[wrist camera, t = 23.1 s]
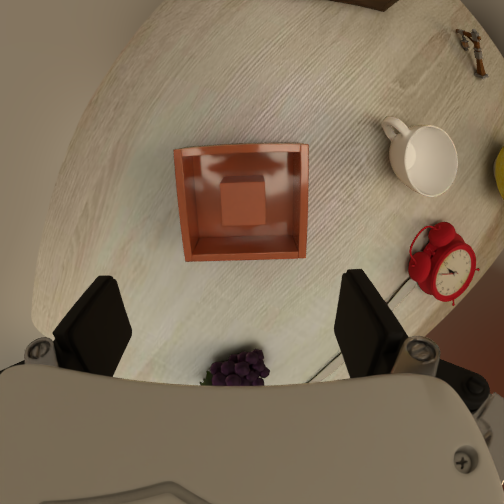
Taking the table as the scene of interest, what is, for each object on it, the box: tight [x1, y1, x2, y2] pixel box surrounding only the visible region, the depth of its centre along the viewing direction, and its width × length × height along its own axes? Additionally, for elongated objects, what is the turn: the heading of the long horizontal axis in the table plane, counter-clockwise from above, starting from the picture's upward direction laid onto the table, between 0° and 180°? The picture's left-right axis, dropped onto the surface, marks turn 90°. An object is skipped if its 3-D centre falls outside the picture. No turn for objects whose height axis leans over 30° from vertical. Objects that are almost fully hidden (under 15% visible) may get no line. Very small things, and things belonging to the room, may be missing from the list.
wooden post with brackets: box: [456, 29, 488, 79], centre depth 20 cm, size 2×8×4 cm, turn 34°
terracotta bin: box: [174, 142, 309, 262], centre depth 29 cm, size 13×12×6 cm
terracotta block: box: [219, 175, 266, 226], centre depth 29 cm, size 4×4×4 cm
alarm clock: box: [408, 222, 480, 306], centre depth 32 cm, size 10×6×15 cm
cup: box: [382, 116, 458, 197], centre depth 26 cm, size 8×10×7 cm
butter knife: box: [309, 279, 417, 383], centre depth 40 cm, size 1×27×3 cm
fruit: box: [200, 349, 270, 386], centre depth 38 cm, size 10×11×15 cm
